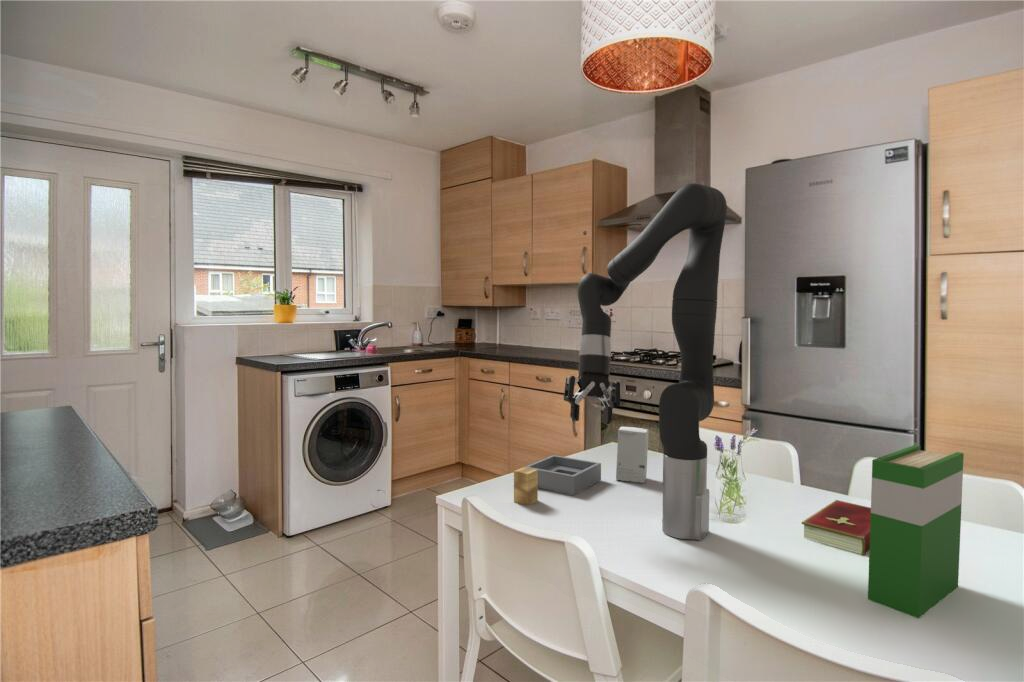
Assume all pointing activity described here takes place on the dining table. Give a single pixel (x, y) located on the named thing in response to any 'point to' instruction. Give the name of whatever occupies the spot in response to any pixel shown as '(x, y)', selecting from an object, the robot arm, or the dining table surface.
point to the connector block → (525, 485)
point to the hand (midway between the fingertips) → (591, 422)
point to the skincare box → (632, 454)
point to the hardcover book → (841, 526)
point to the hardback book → (914, 529)
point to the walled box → (566, 474)
